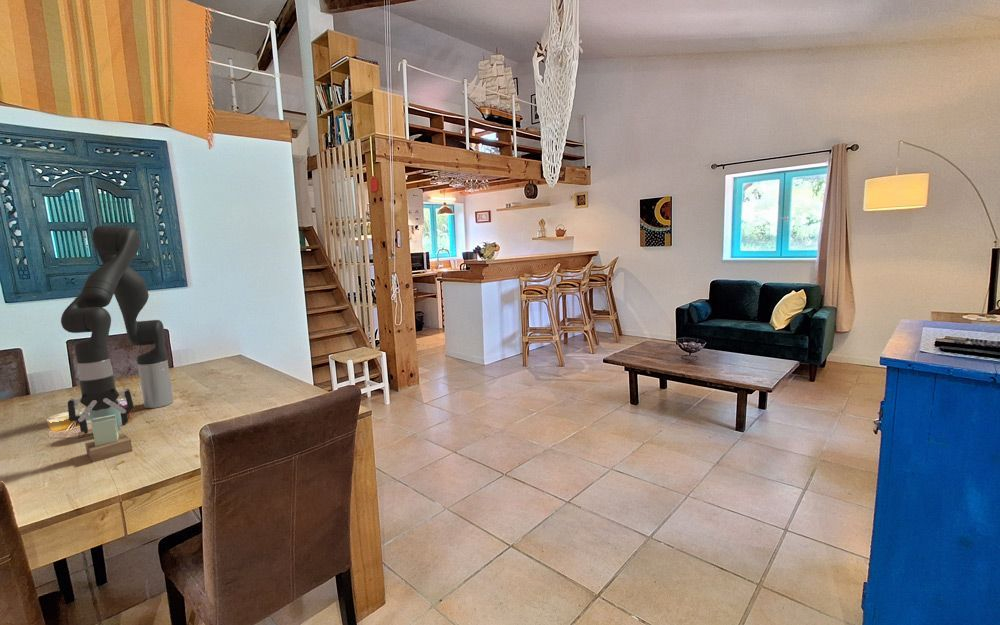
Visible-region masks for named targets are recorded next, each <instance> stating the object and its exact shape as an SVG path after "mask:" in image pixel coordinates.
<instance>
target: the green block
mask: <svg viewBox="0 0 1000 625" xmlns="http://www.w3.org/2000/svg"><path fill="white" fill-rule="evenodd" d="M91 429H92V433H93V434H92V435H93V441H95V446H100V445H104V444H109V443H113V442H118V437H119V435H118V434H119V430H118V429H117V423H116V418H115V414H114V415H109V416H104V417H99V418H94V419H93V420H92V422H91Z"/></svg>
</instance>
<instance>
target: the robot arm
mask: <svg viewBox="0 0 1000 625" xmlns="http://www.w3.org/2000/svg"><path fill="white" fill-rule="evenodd" d="M91 237H92V242H93V247H94V249H95V251H96V253H97V255H98V257H99V259H100V261H101V263H102V265H101V266H99V267H98V268H97V269H95V270H94V271H92V272H91V274H90V275H89V276H88V277H87V279H85V283H84V285H83V287H82V289H81V291H80V293H79V295H77V296H76V298H74V299H73V301H72V302H71V303H70V304H69V305H68V306H67V307H66V308H65V309H64V311H63V312H62V314H61V318H60V323H61V327H62V328H63V330H64V331H66V332H68V333H72V334H77V333H78V334H80V333H81V334H83V333H91V335H90V338H89V339H86V340H81V341H78V342H77V343H76V344H75V345H74V352H75V357H76V364H77V378H78V382H79V387H80V394H81V398H70V399H68V402H67V410H68V420H69V421H70V422H77V423H79V430H80V432H81V433H83V434H88V432H89V429H88V423H87V419H86V418H87V416H88V415H90V411H91V410H94V411H98V410H100V409H108V408H110V407H113V408H114V409H116V410H118V411H120V412H121V420H122V425H121V426H126V424H127V423H128V422H129V416H128V412H129V411H130V410H131V411H132V410H134V407H135V406H134V402H133V397H132V395H131V389H129V388H126V389H125V390H120V391H118V390H117V388H116V382H115V381H116V380H115V377H114V371H113V365H112V362H111V359H110V353H109V349H108V343H109V335H110V329H111V325H112V318H111V317H112V316H111V313H110V312H109V311H108V310H107V309H106V308H105V307H107V306H109V304H111V302H112V299H113V296H114V297H115V300H116V302H117V304H118V307H119V310H120V313H121V315H122V318H123V322H124V326H125V330H126V335H127V338H128V341H129V343H130V344H131V345H132V346H135V347H138V346H140V347H141V346H148V345H149V346H150V345H154V347H153V348H152V349H151V350H148V351H146V352H144V353H142V354H140V355H137V357H136V362H137V368H138V369H137V371H138V376H139V381H140V387H141V394H142V401H143V406H144V408H145V409H154V408H160V407H161V408H162V407H165V406H169V405H171V404H173V403H174V395H173V388H172V382H171V375H170V374H171V373H170V367H169V360H168V355H167V348H166V338H165V328H164V324H163V322H162V320H159V319H154V320H153V319H152V320H141V321H139V320H138V321H137V318H138V317H139V316H138V315H139V314H140V313H141V311H142V309H144V308H145V305H146V304H147V302H148V300H149V296H150V295H149V294H150V293H149V291H148V288H147V284H146V281H145V279H144V278H143V277H142V276H141V275H140V274H139V273H138V272H137V271H135V270H134V269H133V268H132V267H131V266H130V265H131V263H132V262H133V261H134V259H135V257H136V256H137V254H138V252H139V249H140V247H141V237H140V233H139V232H138V230H137V229H135V228H134V227H133V228H132V227H127V226H115V225H96V227H94V229H92V236H91ZM119 396H121V397H122V399H125V401H126V404H127V405H126V406H125V405H123V404H121V402H120V401H119V402H120V403H119V402H117V401H116V400H118V399H119ZM79 404H82V405H83V406H85V408H84V410H83V411H82V412H81V414H80V415H77V413H76V408H77V407H78V406H79Z"/></svg>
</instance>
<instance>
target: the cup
mask: <svg viewBox="0 0 1000 625" xmlns="http://www.w3.org/2000/svg"><path fill="white" fill-rule="evenodd" d="M116 401H117V402H119V403H120V404H121V402H120V401H119V399H116ZM114 414H115V418H116V423H117V429H118V431H119V430H120V429H121V427H122V426H123V425H122V420H121V412H120V411H118V410H116V409H114V408H113V407H110V408H108V409H100V410H98V411H94V410H91V411H90V412H89V417H90V421H91V423H92V420H93V419H94V418H99V417H104V416H109V415H114Z"/></svg>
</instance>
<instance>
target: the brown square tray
mask: <svg viewBox="0 0 1000 625" xmlns="http://www.w3.org/2000/svg"><path fill="white" fill-rule="evenodd" d="M118 435H119V437H118V442H113V443H109V444H104V445H100V446H95V441H94V440H91V441H87V442H84V445H85V450H86V455H87V457H88V458H89V460H90V461H91V462H92V463H93V462H94V463H97V461H98V462H101V461H104V460H107V459H110V458H113V457H118V456H121V455H124V454H129V453H131V452H133V447H132V440H131V438H129V436H127V434H125V433H124V432H120V433H118Z"/></svg>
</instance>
